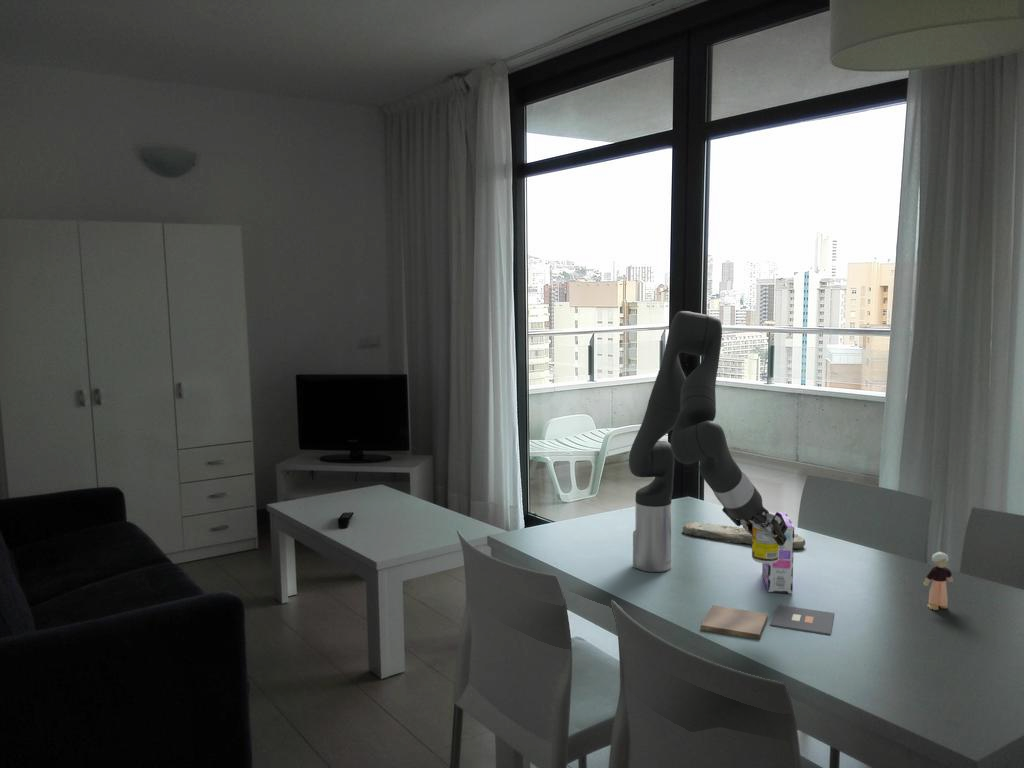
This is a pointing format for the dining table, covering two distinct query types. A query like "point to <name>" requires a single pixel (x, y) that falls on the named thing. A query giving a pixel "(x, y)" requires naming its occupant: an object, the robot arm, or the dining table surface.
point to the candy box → (781, 564)
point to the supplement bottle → (764, 545)
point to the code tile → (803, 619)
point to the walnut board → (735, 622)
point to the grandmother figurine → (938, 582)
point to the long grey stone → (728, 533)
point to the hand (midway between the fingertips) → (770, 538)
